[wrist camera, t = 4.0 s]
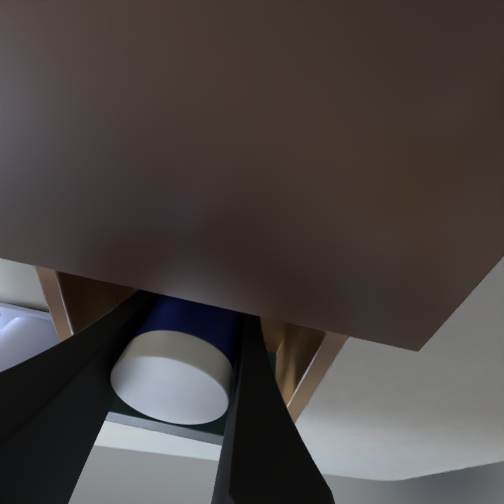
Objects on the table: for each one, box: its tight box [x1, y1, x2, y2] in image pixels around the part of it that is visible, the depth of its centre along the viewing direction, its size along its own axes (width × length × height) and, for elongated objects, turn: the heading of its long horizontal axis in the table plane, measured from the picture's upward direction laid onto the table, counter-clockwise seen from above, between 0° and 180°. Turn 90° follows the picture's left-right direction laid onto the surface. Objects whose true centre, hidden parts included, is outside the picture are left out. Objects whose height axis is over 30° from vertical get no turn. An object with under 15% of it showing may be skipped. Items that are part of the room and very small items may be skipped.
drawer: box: [35, 266, 349, 446], centre depth 14 cm, size 19×12×6 cm, turn 169°
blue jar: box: [110, 294, 244, 424], centre depth 11 cm, size 4×4×5 cm
